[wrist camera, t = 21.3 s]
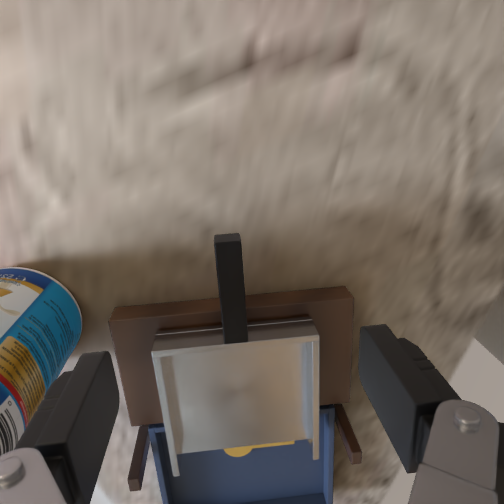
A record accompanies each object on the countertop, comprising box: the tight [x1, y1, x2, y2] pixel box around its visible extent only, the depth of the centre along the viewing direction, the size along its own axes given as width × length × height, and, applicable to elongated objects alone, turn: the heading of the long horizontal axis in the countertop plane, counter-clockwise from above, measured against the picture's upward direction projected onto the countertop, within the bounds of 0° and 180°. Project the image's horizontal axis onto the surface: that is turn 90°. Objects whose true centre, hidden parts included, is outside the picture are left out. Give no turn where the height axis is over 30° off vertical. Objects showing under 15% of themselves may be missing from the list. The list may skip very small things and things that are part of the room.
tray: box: [148, 404, 335, 504], centre depth 35 cm, size 15×12×2 cm
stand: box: [108, 286, 362, 491], centre depth 30 cm, size 17×13×5 cm
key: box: [224, 441, 295, 457], centre depth 35 cm, size 6×3×1 cm, turn 93°
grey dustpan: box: [151, 233, 319, 477], centre depth 28 cm, size 11×18×2 cm, turn 3°
